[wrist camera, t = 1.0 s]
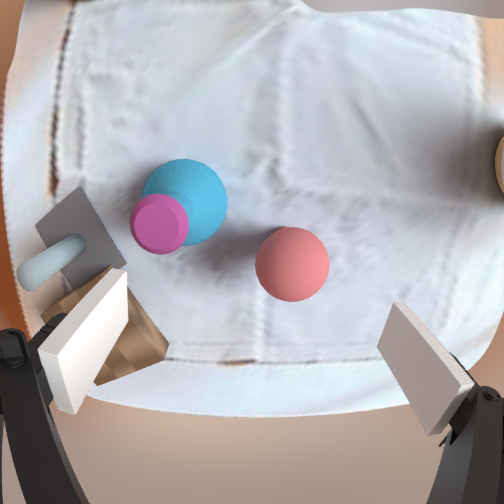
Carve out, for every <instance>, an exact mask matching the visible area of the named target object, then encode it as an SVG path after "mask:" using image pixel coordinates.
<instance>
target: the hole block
mask: <svg viewBox="0 0 504 504" xmlns="http://www.w3.org/2000/svg"><path fill="white" fill-rule="evenodd" d="M112 268H113V267H112V265H110V266H109V267H107V268H106V269H104V270H102V271H101V272H99V273H98V274H96V275H95V276H93V277H92V278H90V279H89V280H87V281H86V282H84V283H83V284H81V285H80V286H78V287H77V288H75V289H73V290H72V291H70V292H69V293H68V294H66V295H65V296H63V297H62V298H60V299H59V300H57V301H56V302H55V303H53V304H52V305H51V306H50V307H49V308H48V309H47V310H46V311H45V312H44V313H43V314H42V315H41V317H42V319H43V320H44V322H45V323H47V322H48V321H49V320H50V319H51V318H52V317H53V316H55V315H57V314H59V313H61V312H63V313H67V314H69V313H70V312H71V311H72V310H73V308H74V307H75V306H76V305H77V304H78V303H79V302H80V301H81V300H82V299H83V298H84V297H85V296H86V295H87V294H88V292H89V291H90V290H91V289H92V288H93V287H94V286H95V285H96V284H97V283H98V282H99V281H100V280H101V279H102V278H103V277H104V276H105V275H106V274H107V273H108V272H109V271H110V270H111V269H112ZM127 302H128V322H127V324H126V326H125V327H124V329H123V331H122V332H121V334H120V336H119V337H118V339H117V341H116V342H115V344H114V346H113V348H112V349H111V351H110V353H109V355H108V356H107V358H106V360H105V362H104V363H103V365H102V367H101V369H100V370H99V372H98V374H97V376H96V378H95V379H94V381H93V382H94V383H95V384H96V385H97V386H99V385H102V384H104V383H107V382H110V381H112V380H115V379H118V378H120V377H123V376H125V375H128V374H130V373H133V372H136V371H138V370H141V369H143V368H146V367H148V366H151V365H153V364H155V363H158V362H160V361H163V360H164V358H165V355H166V352H167V349H168V346H169V342H168V341H167V340H166V338H165V337H164V336H163V335H162V333H161V332H160V331H159V329H158V328H157V327H156V325H155V324H154V323H153V321H152V320H151V319H150V317H149V316H148V315H147V313H146V312H145V311H144V309H143V308H142V306H141V305H140V304H139V302H138V301H137V299H136V298H135V297H134V295H133V294H132V292H131V291H130V290H129V288H128V287H127Z"/></svg>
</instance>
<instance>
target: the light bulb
mask: <svg viewBox="0 0 504 504" xmlns="http://www.w3.org/2000/svg"><path fill="white" fill-rule="evenodd" d="M255 268H256V274H257V277H258V280H259V282H260V284H261V285H262V287H263V288H264V289H265V290H266V291H267V292H268V293H269V294H270V295H272V296H273V297H275V298H277V299H280V300H283V301H289V302H296V301H301V300H305V299H307V298H309V297H311V296H313V295H314V294H315V293H316V292H318V291H319V289H320V288H321V287H322V286H323V284H324V283H325V280H326V278H327V275H328V271H329V258H328V254H327V251H326V249H325V247H324V245H323V243H322V242H321V241H320V240H319V239H318V238H317V237H316V236H315V235H314V234H312V233H311V232H309V231H307V230H304V229H301V228H290V227H282V228H280V229H278V230H277V231H275V232H274V233H272V234H271V235H269V236H268V237H267V238H266V239H265V240H264V241H263V243H262V244H261V246H260V248H259V250H258V252H257V256H256V262H255Z"/></svg>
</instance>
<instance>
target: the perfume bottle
mask: <svg viewBox="0 0 504 504" xmlns="http://www.w3.org/2000/svg"><path fill="white" fill-rule="evenodd" d="M226 210H227V196H226V191H225V188H224V186H223V183H222V181H221V180H220V178H219V177H218V175H217V174H216V173H215V172H214V171H213V170H212V169H211V168H209V167H208V166H206V165H205V164H203V163H200V162H198V161H195V160H189V159H177V160H173V161H170V162H167V163H165V164H163V165H161V166H160V167H159V168H157V169H156V170H155V171H154V172H153V173H152V174H151V175H150V177H149V178H148V180H147V182H146V184H145V186H144V189H143V192H142V199H141V200H140V201H139V202H138V203H137V204H136V205H135V207H134V209H133V210H132V213H131V217H130V229H131V232H132V235H133V237H134V239H135V241H136V242H137V243H138V244H139V245H140V246H141V247H142V248H143V249H145V250H146V251H148V252H151V253H154V254H168V253H171V252H173V251H175V250H177V249H178V248H179V247H180V246H183V245H194V244H198V243H201V242H203V241H205V240H207V239H208V238H210V237H211V236H212V235H213V234H214V233H215V232H216V231H217V230H218V229H219V227H220V226H221V224H222V223H223V220H224V218H225V215H226Z"/></svg>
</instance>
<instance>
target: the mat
mask: <svg viewBox="0 0 504 504" xmlns="http://www.w3.org/2000/svg"><path fill="white" fill-rule="evenodd" d="M35 226H36V228H37V230H38V232H39V233H40V235H41V237H42V239H43V240H44V242H45V244H46V246H47V247H48V248H49V247H51V246H53V245H54V244H56V243H58V242H59V241H61V240H63V239H64V238H66V237H68V236H70V235H71V234H74V233H77V234H80V235H81V236H82V237H83V238H84V240H85V243H86V248H85V251H84V252H83V253H82V254H81V255H79V256H78V257H77V258H75V259H74V260H73V261H71V262H70V263H68V264H67V265H66V266H64V267H63V268H62V269H61V270H62V272H63V273H64V275H65V276H66V278H67V279H68V281H69V283H70V284H71V286H72V287H73V289H75V288H77V287H78V286H80V285H81V284H83V283H84V282H86V281H87V280H89V279H90V278H92V277H93V276H95V275H96V274H98V273H99V272H101V271H102V270H104V269H106V268H107V267H109V266H110V265H112V267H113V268H114V269H119V268H121V267H123V266H124V265H126V264H127V263H126V261H125V259H124V258H123V256H122V255H121V253H120V252H119V250H118V249H117V247H116V245H115V244H114V242H113V241H112V239H111V237H110V236H109V234H108V232H107V231H106V229H105V227H104V226H103V224H102V222H101V221H100V219H99V217H98V216H97V214H96V212H95V211H94V209H93V207H92V205H91V204H90V202H89V200H88V198H87V196H86V195H85V193H84V191H83V189H82V187H81V186H80V187H78V188H77V189H76V190H75V191H74V192H72V193H71V194H70V195H69V196H68V197H66V198H65V199H64V200H63V201H62V202H61V203H60V204H58V205H57V206H56V207H55V208H54V209H53V210H52V211H51V212H49V213H48V214H47V215H46V216H45V217H44V218H43V219H42V220H41V221H40V222H39V223H38V224H36V225H35Z"/></svg>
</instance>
